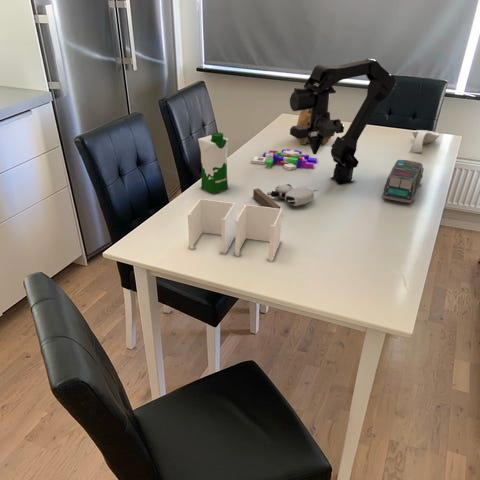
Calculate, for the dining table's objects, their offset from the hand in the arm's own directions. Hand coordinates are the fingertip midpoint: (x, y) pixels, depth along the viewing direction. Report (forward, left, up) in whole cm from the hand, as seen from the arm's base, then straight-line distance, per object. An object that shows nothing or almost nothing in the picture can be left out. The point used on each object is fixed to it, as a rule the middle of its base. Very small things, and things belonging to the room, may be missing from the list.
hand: (314, 154), depth 171 cm
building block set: (-4, -27, -12) cm, 30 cm away
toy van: (-28, +17, -12) cm, 35 cm away
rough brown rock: (-28, -43, -12) cm, 53 cm away
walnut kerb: (+23, +9, -12) cm, 28 cm away
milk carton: (+34, -12, -12) cm, 38 cm away
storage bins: (+44, +29, -12) cm, 54 cm away
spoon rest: (-70, -20, -12) cm, 74 cm away
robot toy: (+13, +8, -12) cm, 20 cm away
